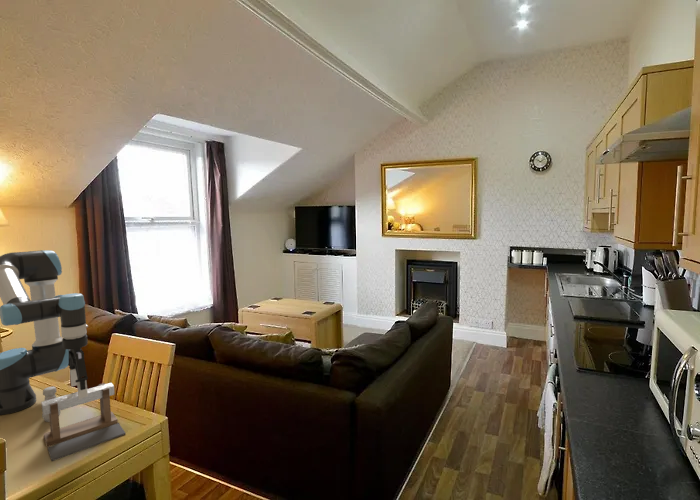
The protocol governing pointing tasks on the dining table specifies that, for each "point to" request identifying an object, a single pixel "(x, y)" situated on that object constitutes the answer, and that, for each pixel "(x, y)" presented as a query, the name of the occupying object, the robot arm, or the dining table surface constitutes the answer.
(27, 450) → the dining table surface
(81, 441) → the rubber mat
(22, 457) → the dining table surface
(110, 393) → the metal rail
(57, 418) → the bracket stand
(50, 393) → the salt shaker
